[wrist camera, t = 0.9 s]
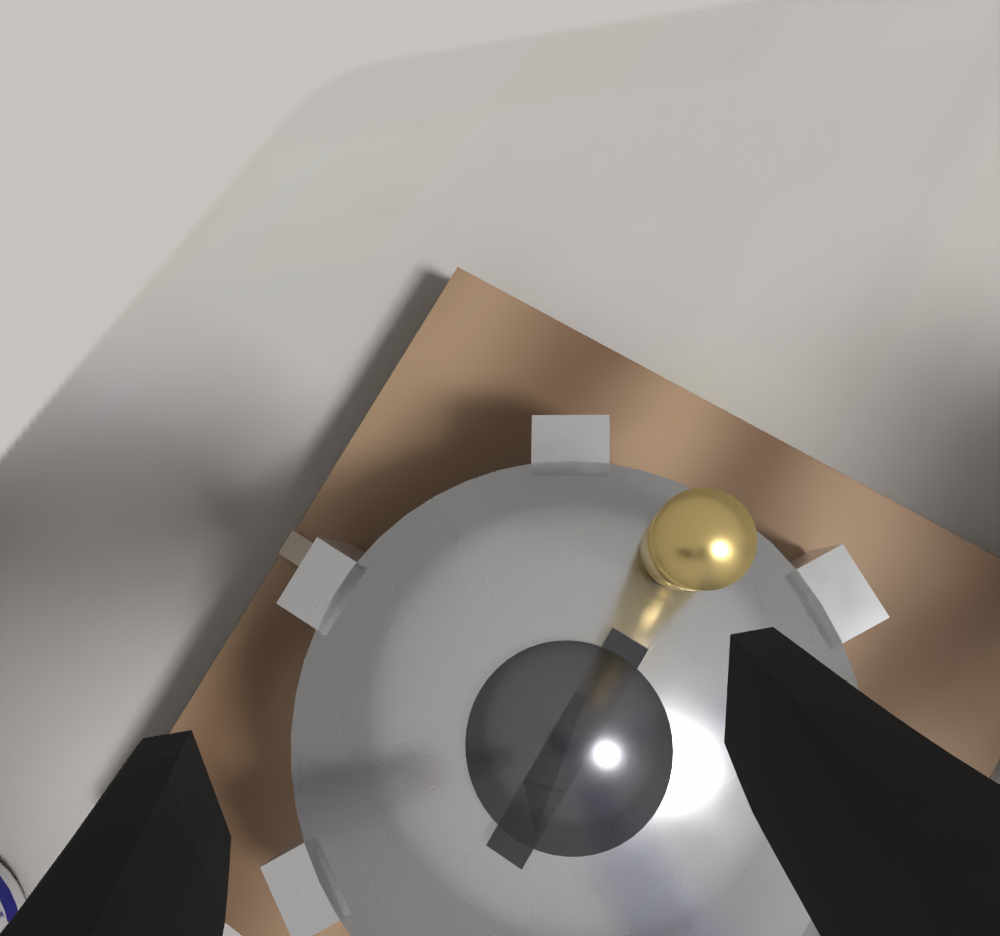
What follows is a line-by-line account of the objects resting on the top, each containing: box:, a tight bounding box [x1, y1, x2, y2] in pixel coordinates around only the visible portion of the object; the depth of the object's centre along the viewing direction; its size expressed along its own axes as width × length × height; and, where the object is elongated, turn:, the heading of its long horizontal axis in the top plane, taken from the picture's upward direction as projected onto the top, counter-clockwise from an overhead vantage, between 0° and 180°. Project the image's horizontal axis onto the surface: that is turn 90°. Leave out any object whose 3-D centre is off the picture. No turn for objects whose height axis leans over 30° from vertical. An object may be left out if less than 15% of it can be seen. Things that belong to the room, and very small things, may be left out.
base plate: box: [169, 267, 1000, 936], centre depth 23 cm, size 20×20×2 cm
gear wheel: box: [260, 415, 890, 936], centre depth 19 cm, size 15×16×7 cm
